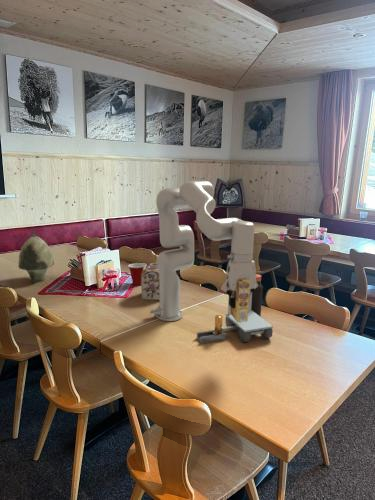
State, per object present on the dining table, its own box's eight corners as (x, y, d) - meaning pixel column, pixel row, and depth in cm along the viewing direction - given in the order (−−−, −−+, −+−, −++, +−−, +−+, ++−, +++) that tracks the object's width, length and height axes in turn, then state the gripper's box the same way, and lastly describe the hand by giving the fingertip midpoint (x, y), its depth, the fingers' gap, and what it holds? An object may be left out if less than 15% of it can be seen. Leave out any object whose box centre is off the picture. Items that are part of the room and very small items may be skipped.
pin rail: (201, 343, 148) (201, 337, 147) (196, 338, 152) (196, 332, 152) (226, 339, 151) (226, 333, 151) (220, 334, 156) (221, 328, 155)
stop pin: (215, 337, 150) (215, 318, 148) (212, 334, 153) (212, 315, 151) (238, 333, 154) (239, 315, 152) (234, 330, 157) (235, 312, 155)
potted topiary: (32, 277, 230) (26, 230, 226) (61, 277, 227) (56, 228, 223) (13, 285, 211) (7, 233, 207) (45, 284, 208) (39, 231, 204)
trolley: (244, 344, 147) (247, 300, 143) (224, 326, 164) (226, 285, 159) (272, 340, 152) (275, 296, 147) (250, 322, 168) (252, 282, 163)
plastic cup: (139, 279, 224) (139, 260, 221) (150, 284, 216) (150, 264, 213) (124, 283, 216) (124, 264, 213) (135, 288, 209) (135, 268, 206)
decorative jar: (166, 293, 203) (167, 261, 198) (163, 300, 191) (163, 267, 187) (145, 291, 204) (145, 260, 199) (140, 299, 193) (140, 266, 188)
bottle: (263, 315, 175) (266, 275, 171) (255, 319, 170) (258, 278, 166) (251, 311, 180) (253, 272, 175) (243, 315, 175) (245, 275, 170)
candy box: (248, 321, 130) (251, 280, 126) (236, 322, 129) (239, 281, 125) (238, 311, 138) (241, 272, 134) (228, 312, 137) (230, 273, 133)
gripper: (224, 261, 122) (221, 313, 126) (268, 258, 127) (264, 307, 132) (214, 256, 128) (212, 304, 133) (257, 252, 134) (253, 299, 139)
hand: (238, 305), depth 132 cm, fingers closed on candy box, 4 cm apart
